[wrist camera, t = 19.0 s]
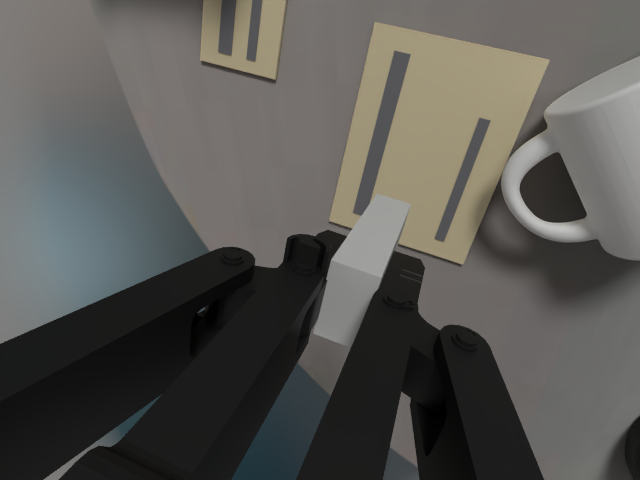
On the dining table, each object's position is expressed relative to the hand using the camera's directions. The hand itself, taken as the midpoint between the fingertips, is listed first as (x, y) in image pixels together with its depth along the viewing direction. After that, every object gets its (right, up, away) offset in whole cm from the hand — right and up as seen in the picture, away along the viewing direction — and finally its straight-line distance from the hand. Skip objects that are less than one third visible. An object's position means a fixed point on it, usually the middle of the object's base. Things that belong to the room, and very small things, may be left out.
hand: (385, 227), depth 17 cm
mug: (+16, +5, +11) cm, 20 cm away
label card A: (-9, +18, +14) cm, 24 cm away
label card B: (+5, +6, +14) cm, 16 cm away
